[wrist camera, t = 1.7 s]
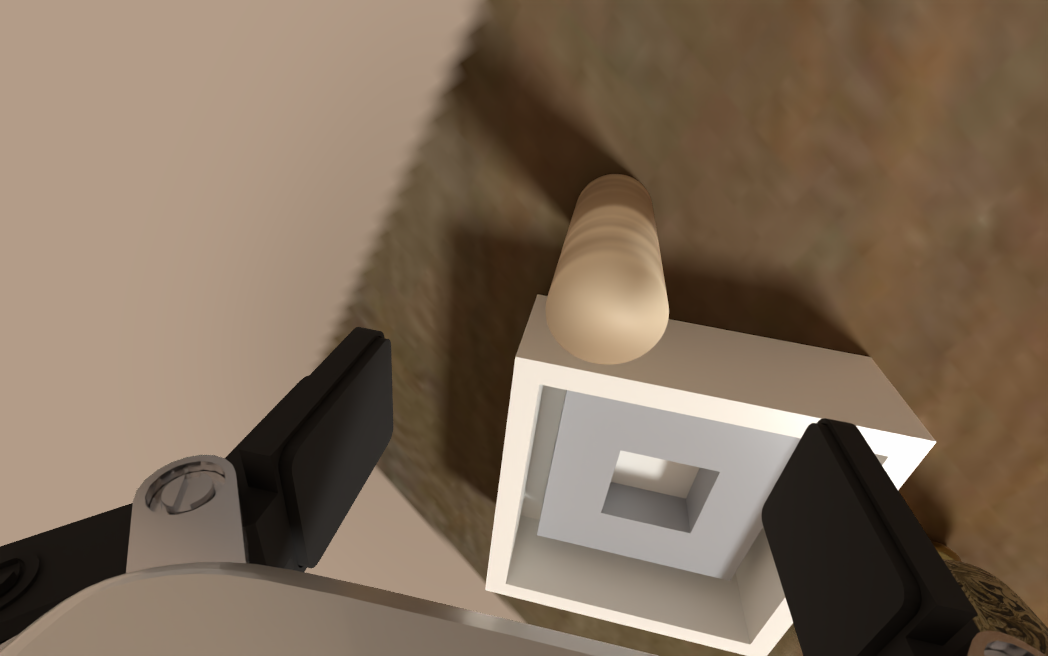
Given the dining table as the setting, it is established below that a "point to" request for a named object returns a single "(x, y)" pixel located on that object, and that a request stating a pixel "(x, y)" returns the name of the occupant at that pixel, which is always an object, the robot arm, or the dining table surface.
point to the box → (672, 475)
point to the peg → (609, 276)
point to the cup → (995, 602)
